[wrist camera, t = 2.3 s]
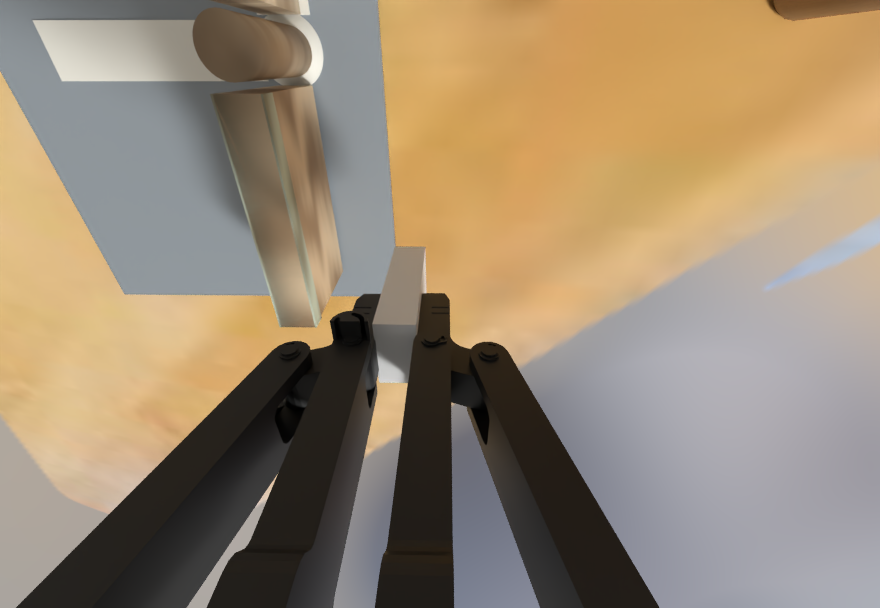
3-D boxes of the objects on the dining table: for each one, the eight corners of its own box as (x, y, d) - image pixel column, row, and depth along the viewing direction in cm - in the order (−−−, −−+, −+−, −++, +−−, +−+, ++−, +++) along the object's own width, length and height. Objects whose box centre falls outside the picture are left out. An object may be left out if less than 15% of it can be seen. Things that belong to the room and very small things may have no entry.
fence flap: (275, 85, 21) (209, 93, 15) (314, 85, 21) (262, 93, 15) (315, 270, 28) (279, 326, 22) (344, 271, 28) (316, 327, 22)
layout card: (-331, -540, 12) (-353, -557, 12) (337, -556, 12) (334, -574, 11) (127, 292, 30) (123, 294, 29) (399, 294, 29) (398, 297, 29)
